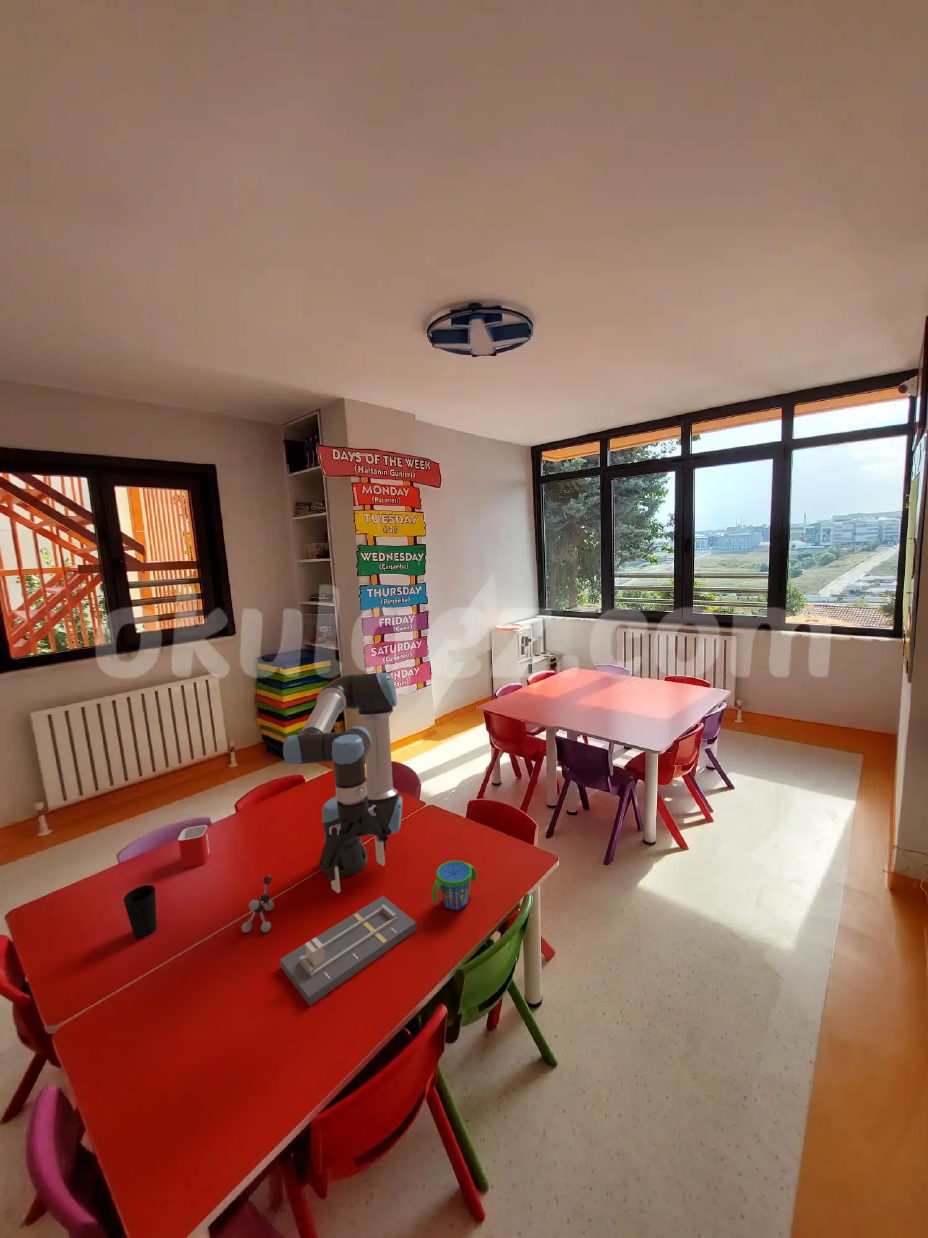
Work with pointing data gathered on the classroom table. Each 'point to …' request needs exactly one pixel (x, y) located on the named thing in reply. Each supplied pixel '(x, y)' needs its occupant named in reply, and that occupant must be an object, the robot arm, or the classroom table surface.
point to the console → (348, 948)
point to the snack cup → (454, 883)
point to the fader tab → (315, 953)
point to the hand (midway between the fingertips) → (359, 876)
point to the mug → (194, 846)
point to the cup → (141, 910)
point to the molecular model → (260, 908)
